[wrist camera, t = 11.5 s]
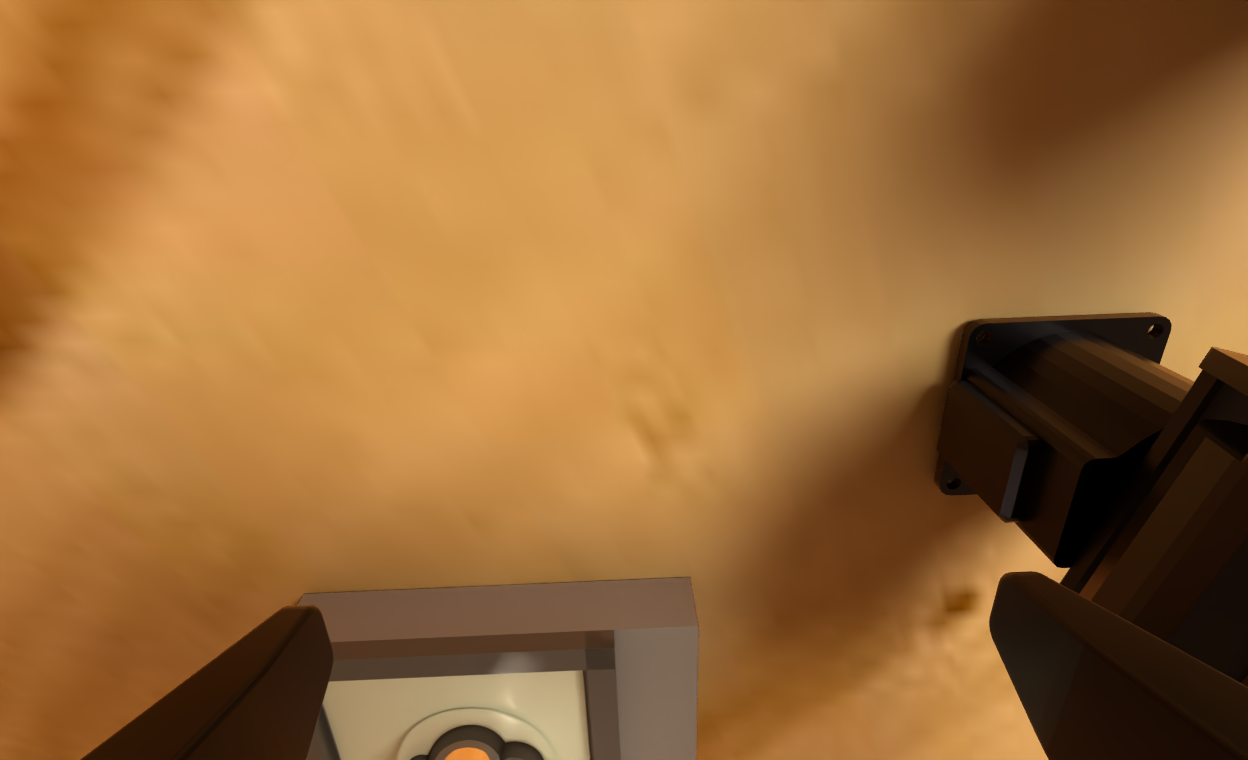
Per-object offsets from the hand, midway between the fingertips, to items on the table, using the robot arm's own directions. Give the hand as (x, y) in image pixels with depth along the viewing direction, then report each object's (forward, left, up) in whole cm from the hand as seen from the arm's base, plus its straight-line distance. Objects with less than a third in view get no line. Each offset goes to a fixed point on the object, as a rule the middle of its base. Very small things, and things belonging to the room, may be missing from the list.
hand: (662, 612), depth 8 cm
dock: (+5, +16, -13) cm, 22 cm away
